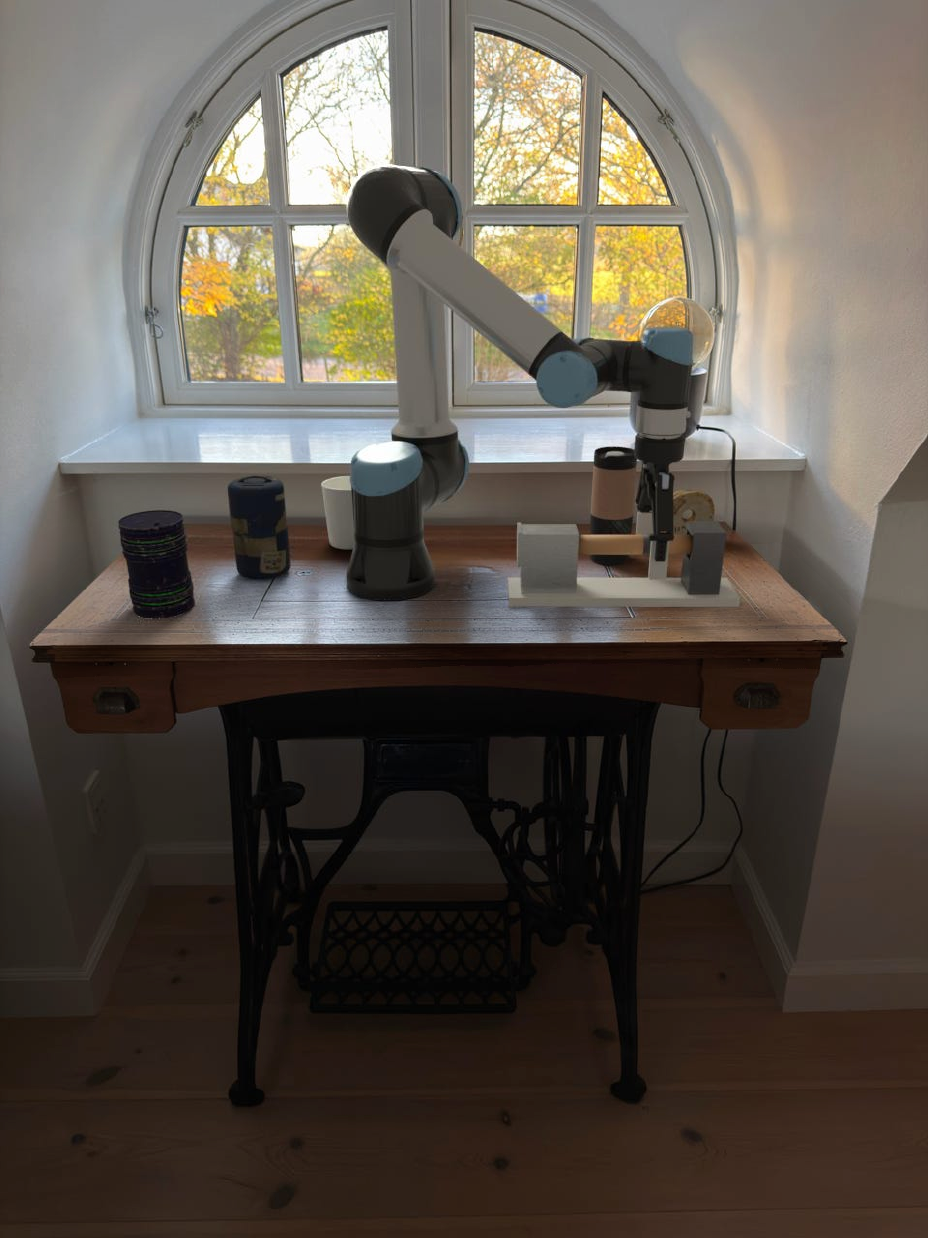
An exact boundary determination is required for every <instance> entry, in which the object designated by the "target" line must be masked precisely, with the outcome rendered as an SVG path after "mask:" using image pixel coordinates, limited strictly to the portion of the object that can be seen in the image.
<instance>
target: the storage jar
mask: <svg viewBox="0 0 928 1238" xmlns="http://www.w3.org/2000/svg"><path fill="white" fill-rule="evenodd" d="M117 524H118V529H119V537H120V538H119V540H120V545H121V547H122V548H121V549H122V552H121V553H122V554H123V558H124V559H125V562H126V568H127V573H128V579H127V581H128V587H129V589H128V592H129V597H130V599H131V603H132V605H133V607H132V610H133V614H134V613H135V614H136V615H137V616H136V615H135V614H134V615H135V616H136V617H138V616H140V617H139V618H141V617H142V619H145V618H150V619H149V620H162V619H161V618H166V619H171V618H170V617H172V618H175V617H174V616H176V617H179V616H178V615H180V614H182V615H184V614H183V613H185V614H186V612H187V613H189V612H190V611H192V610H193V609H194V608H195V606H196V601H195V599H194V595H195V592H194V588H195V587H194V583H193V579H192V572H191V571H190V567H189V562H188V555H187V552H188V542H187V534H186V533H187V532H186V529H185V525H184V517H183V514H182V513H180V512H177V511H175V510H167V509H159V510H157V509H156V510H147V511H146V510H145V511H138V512H134V513H130V514H128V515H125V516H123V517H121V518H120V519H119V520H118V521H117ZM193 607H194V608H193ZM192 608H193V609H192ZM191 609H192V610H191ZM188 611H189V612H188ZM180 616H181V615H180ZM151 618H152V619H151ZM159 618H160V619H159Z"/></svg>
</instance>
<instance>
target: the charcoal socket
mask: <svg viewBox="0 0 928 1238" xmlns="http://www.w3.org/2000/svg"><path fill="white" fill-rule="evenodd" d="M685 535H692V546H691V555H682V565H681V574H680V578H681V582H682V584H683V586H684V588H685V590H686V592H687V594H688V595H719V592H720V584H721V578H722V574H723V568H724V567H723V565H724V559H725V558H724V556H725V550H726V549H725V547H726V540H727V531H726V530H725V529H724V527H722V525H721V524H720V522H719V520H714V521H687V522H686V532H685Z"/></svg>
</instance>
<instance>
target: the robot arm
mask: <svg viewBox="0 0 928 1238" xmlns="http://www.w3.org/2000/svg"><path fill="white" fill-rule="evenodd" d="M462 207H463V206H462V202H461V198H460V195H459V193H458V191H457V188H456V187H455V185H454V184H453V183H452V182H451V180H450V179H448V177H446V176H445V175H444V174H442V173H441V172H439V171H436V170H432V169H431V168H428V167H425V166H410V165H409V166H406V165H405V166H404V165H396V164H388V163H387V164H386V163H382V164H377V165H373V166H370V167H368V168H365V170H363V171H361V172H360V173H359V174H358V176H357V177H355V179H354V180H353V182H352V183H351V186H350V188H349V190H348V194H347V198H346V214H347V215H346V216H347V220H348V224H349V226H350V228H351V230H352V232H353V233H354V236H355V237H356V238H357V239H358V240H359V242H360V243H361V244H363V246H364V247H366V249H368V250H369V251H370V252H371V254H373V255H374V256H376V257H377V258H378V259H379V260H380V263H381V264H383V266H384V267H385V268H386V269H387V270H388V271H389V273H390V282H391V283H390V284H391V299H392V300H391V301H392V317H393V318H392V320H393V336H394V339H393V340H394V353H395V368H396V386H397V388H396V390H397V401H398V402H397V403H398V422H397V423H395V425H394V426H393V427H392V429H391V430H390V434H391V435H390V436H391V441H383V442H379V444H377V443H376V444H375V443H373V444H370V445H366V446H364V447H362V448H360V449H359V450H357V451H356V452H355V454H354V455H352V457H351V460H350V473H349V476H350V484H351V494H352V509H353V525H354V540H355V543H354V547H353V549H352V552H351V555H350V559H349V563H348V567H347V569H346V570H347V571H346V575H345V577H346V578H345V579H346V588H347V590H348V591H349V592H350V593H351V594H353V595H354V596H357V597H359V598H363V599H367V600H373V601H399V600H407V599H408V600H409V599H412V598H417V597H419V596H422V595H424V594H426V593H429V592H430V591H431V590H432V589H433V588H434V586H435V585H436V573H435V572H436V571H435V567H434V565H433V562H432V560H431V556H430V554H429V551H428V548H427V546H426V543H425V539H424V537H425V536H424V512H426V511H428V510H430V509H431V508H434V506H437V505H438V504H440V503H443V502H446V501H448V500H449V499H451V498H452V497H453V496H454V495H456V493H458V491H459V490H460V489H462V487H464V485H465V483H466V481H467V478H468V476H469V473H470V472H469V470H470V457H469V454H468V451H467V449H466V447H465V446H464V445H463V444H462V443H461V440H460V439H459V428H458V426H457V425H456V424H455V423H454V422H453V421H452V420H451V419H450V418H449V417H450V415H449V397H448V396H449V393H448V392H449V391H448V390H449V389H448V367H447V366H448V365H447V364H448V363H447V362H448V361H447V341H446V340H447V339H446V337H447V335H446V334H447V333H446V314H445V311H446V309H445V306H446V307H447V308H448V309H449V310H450V311H453V313H454V314H456V315H457V316H458V317H459V318H461V320H463V321H464V322H465V323H466V324H468V325H469V326H470V327H471V328H472V329H473V330H475V331H476V332H477V333H478V334H480V335H481V336H482V337H483V338H484V339H486V340H487V341H488V342H489V343H491V345H493V346H494V347H495V348H496V349H498V350H499V351H500V352H501V353H502V354H504V355H505V356H506V357H507V358H508V359H510V361H512V362H513V363H514V364H516V365H517V366H518V367H519V368H520V369H521V370H523V371H524V372H525V373H526V374H528V375H529V376H530V377H531V378H532V379H533V380H534V381H535V384H536V387H537V390H538V393H539V395H540V397H541V398H542V399H543V401H544V402H546V403H547V404H548V405H550V406H552V407H554V408H558V409H568V408H572V407H577V406H580V405H582V404H585V403H586V402H587V401H588V400H590V399H592V397H596V396H597V395H599V394H602V393H603V392H606V391H607V392H625V393H637V404H636V414H635V415H636V418H635V420H636V421H635V430H636V432H637V433H636V435H635V439H634V448H633V449H634V456H635V458H636V459H637V461H640V462H642V463H641V470H640V477H639V481H638V486H637V490H636V491H637V492H636V497H635V504H636V505H637V506H636V510H637V512H636V513H637V515H636V525H635V526H636V527H635V528H636V529H635V535H641V534H642V533H653V536H649V538H648V540H649V541H651V547H650V556H649V558H648V559H649V562H648V573H647V574H648V575H647V578H648V579H649V580H666V578H667V574H668V562H669V555H668V554H669V543H670V541H673V539H674V535H673V493H674V485H675V484H674V483H675V475H674V474H673V473H672V472H670V465H671V464H673V463H675V464H676V463H678V462H680V461H682V460H683V458H684V457H685V456H684V454H685V444H686V437H685V436H684V435H683V434H684V433H685V432H686V430H687V429H686V428H687V419H688V418H689V419H690V418H691V416H692V413H691V411H689V410H688V409H689V408H688V406H689V398H690V397H689V396H690V388H691V380H692V379H691V378H692V372H693V364H694V358H693V356H694V352H693V351H694V335H693V333H692V331H691V330H690V329H688V328H684V327H678V326H653V327H647V328H644V330H643V331H642V337H641V338H640V340H619V339H617V340H616V339H600V338H593V337H586V338H584V337H583V338H571V337H569V336H568V335H567V334H565V333H564V331H562V330H561V329H560V328H559V327H558V326H556V325H555V324H554V323H553V322H552V321H551V320H549V319H548V318H547V317H546V316H544V315H543V314H542V313H541V312H539V311H538V309H536V308H535V307H534V306H532V305H531V304H530V303H529V302H528V301H527V300H526V299H524V298H523V297H521V296H520V295H519V294H518V293H517V292H516V291H514V290H513V289H512V288H511V287H510V286H508V285H507V284H506V283H505V282H504V281H502V280H501V279H500V278H499V277H498V276H496V274H494V273H493V272H491V271H490V270H489V269H488V268H487V267H486V266H485V265H483V264H482V263H481V262H480V261H478V260H477V259H476V258H475V257H474V256H473V255H471V254H470V253H469V252H468V251H466V250H465V249H463V247H461V246H460V245H459V244H458V243H457V242H456V241H454V240H453V239H454V238H455V236H456V235H457V233H458V232H459V229H460V227H461V225H462V224H461V223H462V219H463V209H462ZM664 531H665V532H666V533H665V532H664Z"/></svg>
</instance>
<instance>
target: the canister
mask: <svg viewBox="0 0 928 1238" xmlns="http://www.w3.org/2000/svg"><path fill="white" fill-rule="evenodd" d="M285 495H286V494H285V485H284V482H283V481H282V480H281V479H280V478H277V477H275V476H270V475H258V474H257V475H256V474H254V475H253V474H252V475H248V476H244V477H239V478H236V479H233V480H232V481H231V482H230V483H228V486H227V496H228V506H229V507H228V508H229V517H230V527H231V531H232V539H233V540H232V541H233V549H234V550H233V551H234V557H235V567H236V571H237V573H238V574H239V575H240V576H241V577H242V578H244V579H248V580H253V581H267V580H273V579H277V578H280V577H282V576H284V575H285V574H288V572H289V571H290V570H291V569H290V568H292V567H291V565H292V563H291V555H290V540H289V539H290V537H289V527H288V520H287V508H286V497H285Z"/></svg>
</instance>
